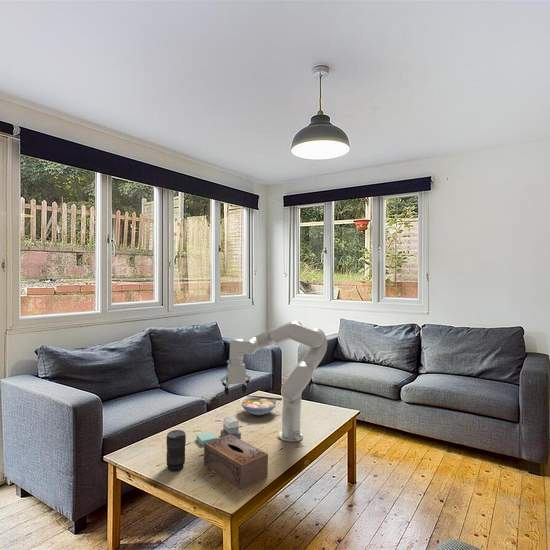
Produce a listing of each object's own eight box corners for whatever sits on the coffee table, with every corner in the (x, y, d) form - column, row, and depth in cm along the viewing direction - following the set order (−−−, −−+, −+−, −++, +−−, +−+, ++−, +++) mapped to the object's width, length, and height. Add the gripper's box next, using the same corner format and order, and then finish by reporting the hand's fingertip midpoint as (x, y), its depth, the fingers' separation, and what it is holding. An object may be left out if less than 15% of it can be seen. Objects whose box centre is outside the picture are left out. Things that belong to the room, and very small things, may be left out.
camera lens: (162, 467, 168) (163, 433, 168) (178, 461, 174) (179, 428, 174) (171, 474, 162) (172, 439, 162) (188, 468, 168) (189, 433, 168)
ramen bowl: (231, 417, 227) (232, 403, 227) (246, 404, 249) (246, 391, 249) (272, 423, 220) (272, 409, 220) (283, 409, 242) (283, 396, 242)
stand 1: (217, 442, 193) (217, 437, 193) (201, 446, 189) (201, 440, 189) (211, 436, 200) (211, 431, 200) (196, 439, 196) (196, 434, 196)
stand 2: (240, 437, 200) (240, 433, 200) (226, 440, 196) (226, 435, 196) (234, 432, 207) (234, 427, 206) (220, 434, 203) (220, 430, 202)
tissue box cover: (267, 477, 163) (268, 453, 163) (241, 490, 153) (241, 465, 153) (229, 455, 181) (230, 434, 181) (203, 465, 171) (204, 443, 171)
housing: (238, 433, 199) (238, 421, 199) (228, 435, 197) (228, 422, 197) (232, 428, 205) (233, 416, 205) (223, 430, 203) (223, 418, 203)
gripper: (223, 364, 200) (222, 397, 200) (253, 362, 208) (252, 393, 208) (218, 361, 207) (217, 393, 207) (248, 359, 214) (247, 389, 215)
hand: (235, 393), depth 207 cm, fingers open, 9 cm apart
